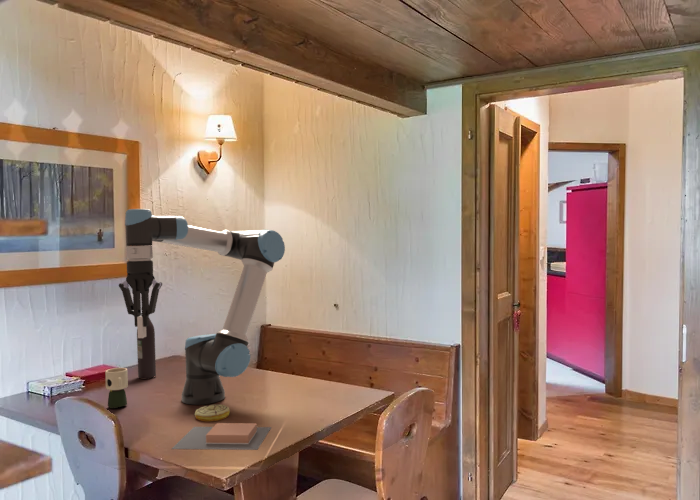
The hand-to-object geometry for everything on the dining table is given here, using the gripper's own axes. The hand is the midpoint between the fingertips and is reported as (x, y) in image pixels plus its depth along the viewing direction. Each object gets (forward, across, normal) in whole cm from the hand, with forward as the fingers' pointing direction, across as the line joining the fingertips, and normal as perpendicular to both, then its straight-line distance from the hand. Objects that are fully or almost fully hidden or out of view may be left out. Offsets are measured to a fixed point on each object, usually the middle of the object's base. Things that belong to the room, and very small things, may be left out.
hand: (142, 337), depth 175 cm
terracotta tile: (+27, +24, -8) cm, 36 cm away
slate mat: (+28, +27, -8) cm, 40 cm away
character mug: (+29, -20, +22) cm, 41 cm away
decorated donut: (+29, +18, +11) cm, 36 cm away
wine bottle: (+29, -27, +64) cm, 75 cm away
